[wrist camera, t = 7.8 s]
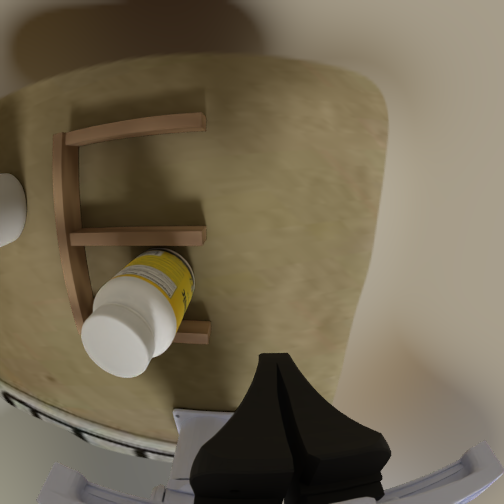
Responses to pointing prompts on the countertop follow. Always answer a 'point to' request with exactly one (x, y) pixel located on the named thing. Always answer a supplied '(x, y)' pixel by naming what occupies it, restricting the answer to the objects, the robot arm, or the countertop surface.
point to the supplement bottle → (138, 312)
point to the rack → (77, 237)
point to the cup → (11, 209)
